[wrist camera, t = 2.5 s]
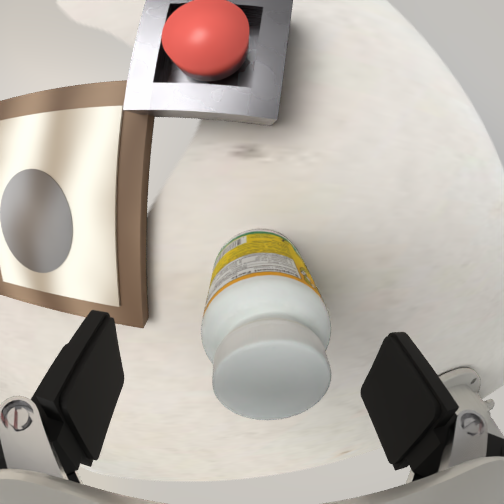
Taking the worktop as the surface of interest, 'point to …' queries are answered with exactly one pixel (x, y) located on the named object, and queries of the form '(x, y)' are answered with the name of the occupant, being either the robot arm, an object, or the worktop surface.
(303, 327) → the supplement bottle
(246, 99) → the button housing
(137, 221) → the brown bordered square board
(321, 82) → the worktop surface
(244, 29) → the button
